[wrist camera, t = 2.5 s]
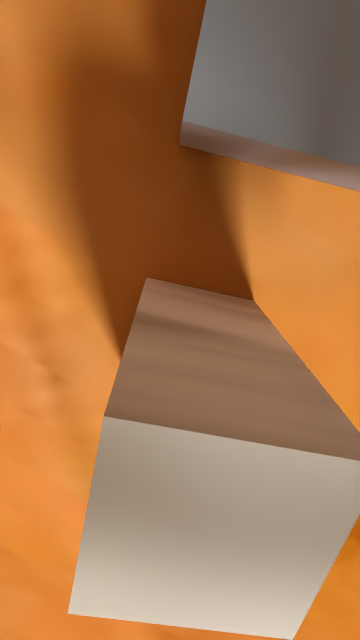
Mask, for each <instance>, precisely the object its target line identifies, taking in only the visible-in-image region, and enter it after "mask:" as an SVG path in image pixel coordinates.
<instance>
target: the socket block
mask: <svg viewBox="0 0 360 640" xmlns="http://www.w3.org/2000/svg"><path fill="white" fill-rule="evenodd" d="M179 145H182V146H185V147H189V148H193V149H197V150H201V151H205V152H209V153H213V154H216V155H220V156H224V157H228V158H232V159H236V160H240V161H244V162H247V163H251V164H255V165H259V166H263V167H267V168H271V169H275V170H278V171H282V172H286V173H290V174H294V175H298V176H302V177H305V178H309V179H313V180H317V181H321V182H325V183H329V184H333V185H336V186H340V187H344V188H348V189H352V190H356V191H360V0H206V5H205V10H204V15H203V20H202V25H201V30H200V35H199V40H198V45H197V50H196V55H195V60H194V65H193V69H192V74H191V79H190V84H189V89H188V94H187V99H186V104H185V109H184V114H183V119H182V125H181V132H180V139H179Z"/></svg>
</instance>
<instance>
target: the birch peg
mask: <svg viewBox="0 0 360 640" xmlns="http://www.w3.org/2000/svg"><path fill="white" fill-rule="evenodd" d="M359 515H360V433H359V431H358V430H357V429H356V428H355V426H354V425H353V424H352V423H351V421H350V420H349V419H348V418H347V416H346V415H345V414H344V413H343V411H342V410H341V409H340V408H339V406H338V405H337V404H336V403H335V401H334V400H333V399H332V398H331V396H330V395H329V394H328V393H327V391H326V390H325V389H324V388H323V386H322V385H321V384H320V383H319V381H318V380H317V379H316V378H315V376H314V375H313V374H312V373H311V371H310V370H309V369H308V368H307V366H306V365H305V364H304V363H303V361H302V360H301V359H300V358H299V356H298V355H297V354H296V353H295V351H294V350H293V349H292V348H291V346H290V345H289V344H288V343H287V341H286V340H285V339H284V338H283V336H282V335H281V334H280V333H279V331H278V330H277V329H276V328H275V326H274V325H273V324H272V323H271V321H270V320H269V319H268V318H267V316H266V315H265V314H264V313H263V311H262V310H261V309H260V308H259V306H258V305H257V304H256V302H255V301H254V300H249V299H245V298H240V297H235V296H231V295H226V294H222V293H217V292H212V291H208V290H203V289H199V288H194V287H189V286H185V285H180V284H176V283H171V282H166V281H162V280H157V279H153V278H148V277H146V280H145V283H144V287H143V290H142V293H141V296H140V300H139V303H138V306H137V309H136V313H135V316H134V319H133V323H132V326H131V329H130V332H129V336H128V339H127V342H126V345H125V349H124V352H123V355H122V358H121V362H120V365H119V368H118V371H117V375H116V378H115V381H114V384H113V388H112V391H111V394H110V397H109V401H108V404H107V407H106V411H105V414H104V418H103V423H102V429H101V434H100V440H99V445H98V451H97V456H96V462H95V467H94V473H93V478H92V484H91V489H90V495H89V500H88V506H87V511H86V517H85V522H84V528H83V533H82V539H81V544H80V550H79V555H78V561H77V566H76V572H75V577H74V583H73V588H72V594H71V599H70V605H69V610H68V614H76V615H85V616H93V617H102V618H111V619H119V620H128V621H136V622H145V623H153V624H162V625H170V626H179V627H188V628H196V629H205V630H213V631H222V632H230V633H239V634H247V635H256V636H265V637H273V638H282V639H290V640H293V638H294V636H295V634H296V632H297V630H298V629H299V627H300V625H301V623H302V621H303V619H304V617H305V615H306V614H307V612H308V610H309V608H310V606H311V604H312V602H313V600H314V599H315V597H316V595H317V593H318V591H319V589H320V587H321V586H322V584H323V582H324V580H325V578H326V576H327V574H328V572H329V571H330V569H331V567H332V565H333V563H334V561H335V559H336V557H337V556H338V554H339V552H340V550H341V548H342V546H343V544H344V543H345V541H346V539H347V537H348V535H349V533H350V531H351V529H352V528H353V526H354V524H355V522H356V520H357V518H358V516H359Z"/></svg>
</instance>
